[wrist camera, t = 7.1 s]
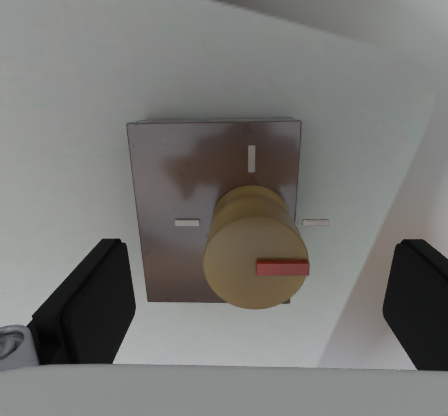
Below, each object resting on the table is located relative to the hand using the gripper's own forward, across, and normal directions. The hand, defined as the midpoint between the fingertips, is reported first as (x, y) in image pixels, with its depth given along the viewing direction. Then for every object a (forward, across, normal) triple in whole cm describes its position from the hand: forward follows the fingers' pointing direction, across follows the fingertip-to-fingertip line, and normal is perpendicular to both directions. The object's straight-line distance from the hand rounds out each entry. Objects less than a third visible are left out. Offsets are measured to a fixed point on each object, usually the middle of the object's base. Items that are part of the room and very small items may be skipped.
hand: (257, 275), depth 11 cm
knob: (+7, 0, +1) cm, 7 cm away
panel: (+10, +2, +1) cm, 10 cm away
